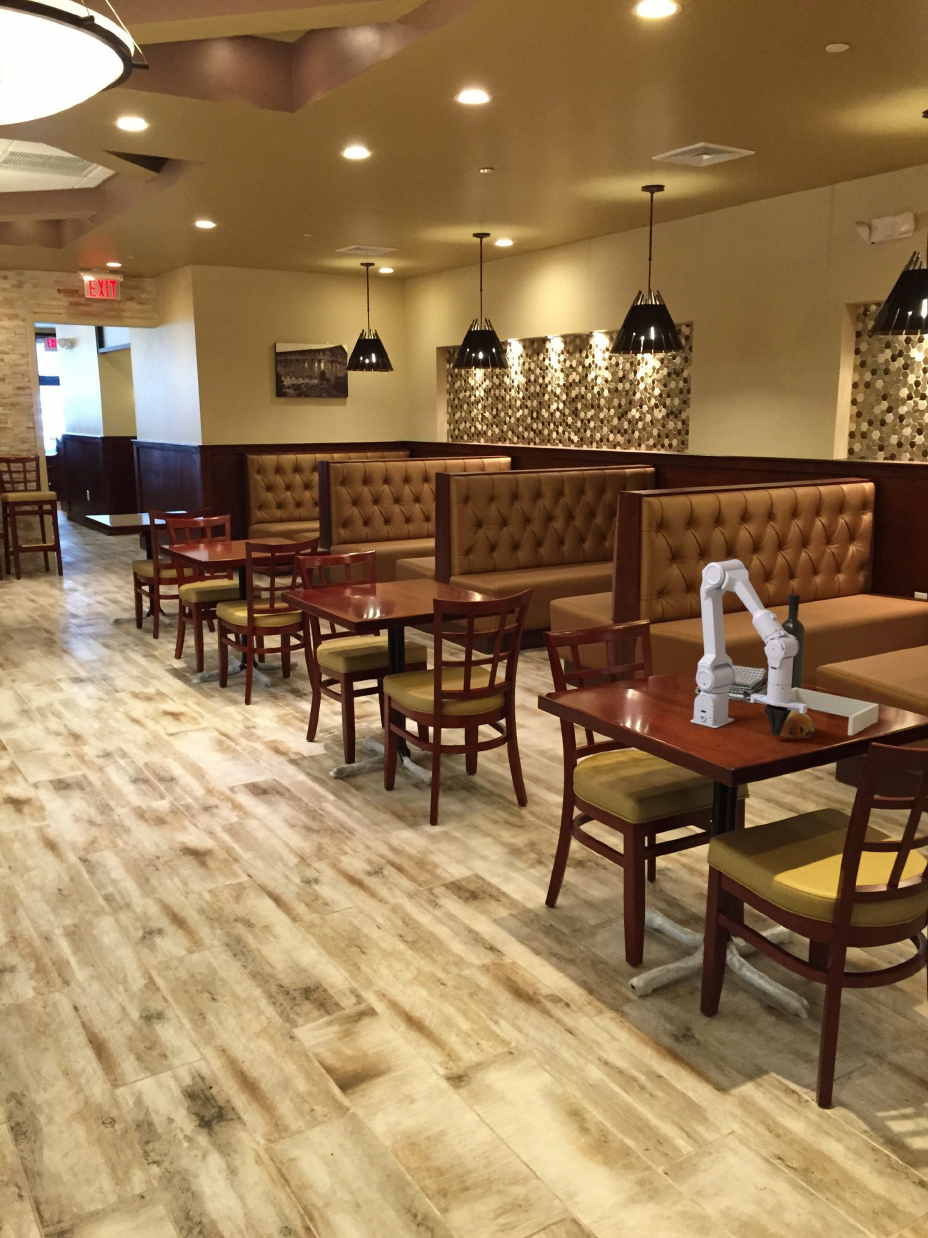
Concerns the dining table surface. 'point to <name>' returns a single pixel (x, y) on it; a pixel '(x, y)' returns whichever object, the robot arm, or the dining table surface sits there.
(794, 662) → the wine bottle
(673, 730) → the dining table surface
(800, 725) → the bread roll
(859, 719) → the box
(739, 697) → the towel
